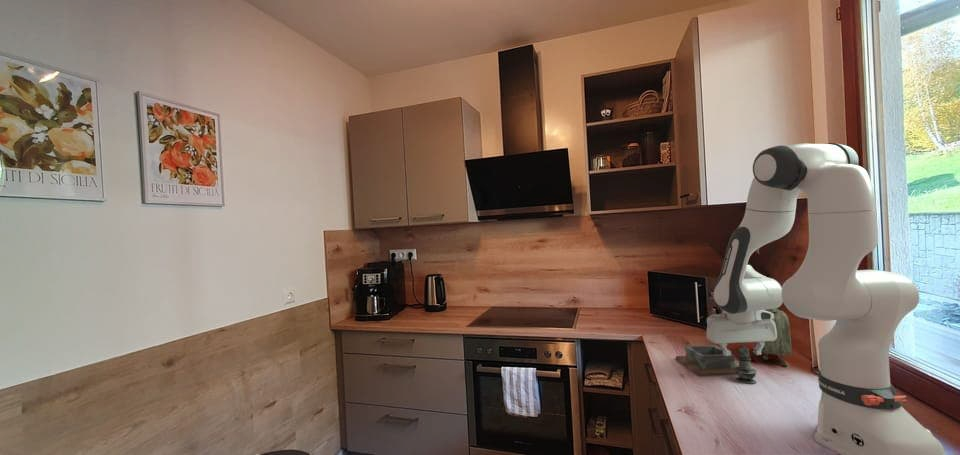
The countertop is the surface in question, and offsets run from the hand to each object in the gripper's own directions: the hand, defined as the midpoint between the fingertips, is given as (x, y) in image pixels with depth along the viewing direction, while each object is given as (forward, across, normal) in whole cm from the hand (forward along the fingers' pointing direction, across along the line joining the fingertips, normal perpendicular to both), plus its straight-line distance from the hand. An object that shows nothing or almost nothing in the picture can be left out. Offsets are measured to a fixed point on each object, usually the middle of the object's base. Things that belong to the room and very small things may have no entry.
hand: (742, 355), depth 114 cm
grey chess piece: (+8, 0, -1) cm, 8 cm away
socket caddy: (+8, -4, +12) cm, 15 cm away
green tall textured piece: (+9, +20, +15) cm, 27 cm away
